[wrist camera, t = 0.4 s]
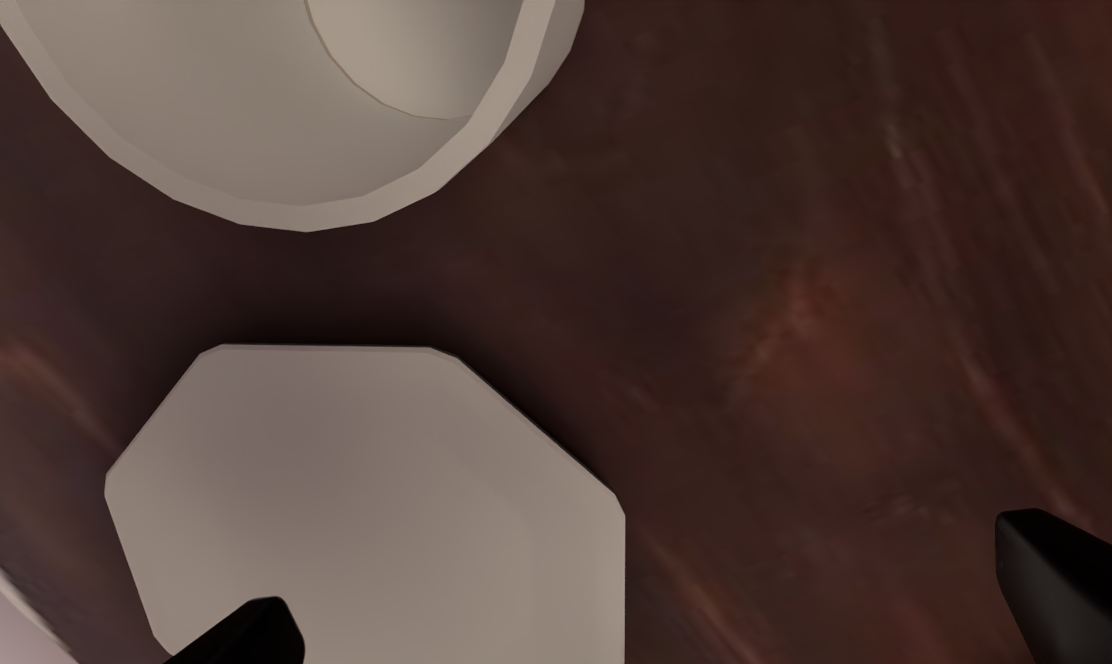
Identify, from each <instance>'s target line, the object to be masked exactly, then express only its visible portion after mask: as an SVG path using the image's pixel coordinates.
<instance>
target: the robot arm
mask: <svg viewBox="0 0 1112 664" xmlns="http://www.w3.org/2000/svg"><path fill="white" fill-rule="evenodd" d="M995 550H996V574H997V579H998V583H999V586H1000V589H1001V591H1002V593H1003V596H1004V598H1005V600H1006V602H1007V604H1008V606H1009V608H1010V610H1011V612H1012V614H1013V616H1014V619H1015V621H1016V623H1017V625H1018V627H1019V629H1020V631H1021V633H1022V635H1023V637H1024V640H1025V642H1026V644H1027V646H1028V648H1029V650H1030V652H1031V654H1032V656H1033V658H1034V661H1035V663H1036V664H1112V545H1111V544H1109V543H1107V542H1105V541H1103V540H1101V539H1099V538H1097V537H1095V536H1093V535H1092V534H1090V533H1088V532H1086V531H1084V530H1082V529H1080V528H1078V527H1076V526H1074V525H1072V524H1070V523H1068V522H1066V521H1064V520H1062V519H1060V518H1058V517H1056V516H1054V515H1052V514H1050V513H1048V512H1046V511H1044V510H1041V509H1037V508H1030V509H1021V510H1013V511H1004V512H1001V513H1000V514H999V515H998V516H997V518H996V522H995ZM305 651H306V650H305V641H304V638H303V635H302V633H301V631H300V629H299V627H298V625H297V623H296V621H295V619H294V617H293V615H292V613H291V611H290V609H289V607H288V605H287V603H286V602H285V600H283V599H282V598H281V597H278V596H269V597H260V598H254V599H251V600H249V601H247V602H246V603H244V604H243V605H242V606H240V607H239V608H237V609H236V610H235V611H233V612H232V613H231V614H229V615H228V616H227V617H225V618H224V619H223V620H221V621H220V622H219V623H217V624H216V625H215V626H213V627H212V628H210V629H209V630H208V631H206V632H205V633H204V634H202V635H201V636H200V637H198V638H197V639H196V640H194V641H193V642H192V643H190V644H189V645H188V646H186V647H185V648H183V649H182V650H181V651H179V652H178V653H177V654H175V655H174V656H173V657H171V658H170V659H169V660H167V661H166V662H165V663H163V664H303V663H304V659H305Z"/></svg>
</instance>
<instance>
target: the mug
mask: <svg viewBox="0 0 1112 664" xmlns="http://www.w3.org/2000/svg"><path fill="white" fill-rule="evenodd" d="M584 4H585V0H0V24H1V26H2V28H3V29H4V31H5V32H6V34H7V35H8V37H9V38H10V40H11V41H12V43H13V44H14V45H15V47H16V48H17V50H18V51H19V53H20V54H21V56H22V57H23V59H24V60H25V62H26V63H27V64H28V66H29V67H30V69H31V70H32V72H33V73H34V75H35V76H36V78H37V79H38V81H39V82H40V84H41V85H42V86H43V88H44V89H45V91H46V92H47V94H48V95H49V97H50V98H51V100H52V101H53V102H54V103H55V104H56V105H57V106H58V107H59V108H60V109H62V110H63V111H64V112H65V113H66V114H67V115H68V116H69V117H70V118H71V119H72V120H73V121H74V122H75V123H76V124H77V125H78V126H79V127H80V128H81V129H82V130H83V131H84V132H85V133H86V134H87V135H88V136H89V137H90V138H91V139H92V140H93V141H94V142H95V143H96V144H97V145H98V146H99V147H100V148H101V149H102V150H103V151H104V152H105V153H106V154H107V155H108V156H109V157H110V158H111V159H113V160H114V161H116V162H117V163H119V164H121V165H122V166H124V167H125V168H127V169H128V170H130V171H131V172H133V173H134V174H136V175H137V176H139V177H140V178H142V179H143V180H145V181H146V182H148V183H149V184H151V185H152V186H154V187H155V188H157V189H159V190H160V191H162V192H163V193H165V194H166V195H168V196H169V197H171V198H172V199H174V200H177V201H179V202H182V203H185V204H187V205H190V206H193V207H195V208H198V209H201V210H203V211H206V212H209V213H211V214H214V215H217V216H219V217H222V218H225V219H227V220H230V221H233V222H235V223H238V224H241V225H250V226H259V227H268V228H276V229H285V230H294V231H302V232H311V231H318V230H324V229H330V228H337V227H343V226H349V225H356V224H362V223H368V222H374V221H376V220H378V219H380V218H382V217H384V216H387V215H389V214H391V213H393V212H395V211H397V210H399V209H401V208H403V207H405V206H408V205H410V204H412V203H414V202H416V201H418V200H420V199H422V198H424V197H427V196H429V195H431V194H433V193H435V192H436V191H438V190H439V189H441V188H442V187H443V186H444V185H445V184H446V183H447V182H448V181H449V180H451V179H452V178H453V177H454V176H455V175H456V174H457V173H458V172H460V171H461V170H462V169H463V168H464V167H465V166H466V165H467V164H468V163H470V162H471V161H472V160H473V159H474V158H475V157H476V156H477V155H478V154H480V153H481V152H482V151H483V150H484V149H485V148H486V147H487V146H489V145H490V144H491V143H492V142H493V141H494V140H495V139H496V138H497V137H498V136H499V135H500V134H501V133H502V132H503V130H504V129H505V128H506V127H507V126H508V125H509V124H510V123H511V122H512V121H513V120H514V119H515V118H516V117H517V116H518V115H519V114H520V113H521V112H522V111H523V110H524V109H525V108H526V107H527V106H528V104H529V103H530V102H531V101H532V100H533V99H534V98H535V97H536V96H537V95H538V94H539V93H540V92H541V91H542V90H543V89H544V88H545V87H546V86H547V85H548V84H549V83H550V81H551V80H552V78H553V77H554V75H555V74H556V72H557V71H558V69H559V68H560V66H561V64H562V63H563V61H564V60H565V58H566V57H567V55H568V54H569V52H570V51H571V48H572V45H573V42H574V39H575V36H576V33H577V30H578V27H579V24H580V21H581V18H582V15H583V12H584Z"/></svg>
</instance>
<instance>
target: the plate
mask: <svg viewBox="0 0 1112 664" xmlns="http://www.w3.org/2000/svg"><path fill="white" fill-rule="evenodd" d="M104 495H105V499H106V502H107V505H108V507H109V510H110V513H111V516H112V519H113V522H114V524H115V527H116V530H117V533H118V536H119V539H120V541H121V544H122V547H123V550H124V553H125V556H126V558H127V561H128V564H129V567H130V570H131V573H132V575H133V578H134V581H135V584H136V587H137V589H138V592H139V595H140V598H141V601H142V604H143V606H144V609H145V612H146V615H147V618H148V621H149V623H150V626H151V629H152V632H153V635H154V637H155V638H156V639H157V640H158V641H159V643H160V644H161V645H162V646H163V647H164V649H165V650H166V651H167V652H168V653H170V654H171V655H173V656H174V655H175V654H177V653H178V652H179V651H181V650H182V649H183V648H185V647H186V646H188V645H189V644H190V643H192V642H193V641H194V640H196V639H197V638H198V637H200V636H201V635H202V634H204V633H205V632H206V631H208V630H209V629H210V628H212V627H213V626H215V625H216V624H217V623H219V622H220V621H221V620H223V619H224V618H225V617H227V616H228V615H229V614H231V613H232V612H233V611H235V610H236V609H237V608H239V607H240V606H242V605H243V604H244V603H246V602H247V601H249V600H251V599H254V598H260V597H269V596H278V597H281V598H282V599H283V600H285V602H286V603H287V605H288V607H289V609H290V611H291V613H292V615H293V617H294V619H295V621H296V623H297V625H298V627H299V629H300V631H301V633H302V635H303V638H304V641H305V650H306V651H305V659H304V663H303V664H624V651H625V511H624V509H623V507H622V505H621V503H620V501H619V499H618V497H617V495H616V493H615V491H614V490H613V489H612V488H611V487H609V486H608V485H607V484H606V483H605V482H604V481H602V480H601V479H600V478H599V477H598V476H597V475H595V474H594V473H593V472H592V471H591V470H590V469H589V468H587V467H586V466H585V465H584V464H583V463H582V462H580V461H579V460H578V459H577V458H576V457H575V456H574V455H572V454H571V453H570V452H569V451H568V450H567V449H565V448H564V447H563V446H562V445H561V444H560V443H558V442H557V441H556V440H555V439H554V438H553V437H552V436H550V435H549V434H548V433H547V432H546V431H545V430H543V429H542V428H541V427H540V426H539V425H538V424H536V423H535V422H534V421H533V420H532V419H531V418H530V417H528V416H527V415H526V414H525V413H524V412H523V411H521V410H520V409H519V408H518V407H517V406H516V405H515V404H513V403H512V402H511V401H510V400H509V399H508V398H506V397H505V396H504V395H503V394H502V393H501V392H499V391H498V390H497V389H496V388H495V387H494V386H493V385H491V384H490V383H489V382H488V381H487V380H486V379H484V378H483V377H482V376H481V375H480V374H479V373H478V372H476V371H475V370H474V369H473V368H472V367H471V366H469V365H468V364H467V363H466V362H465V361H464V360H462V359H461V358H460V357H459V356H457V355H455V354H452V353H450V352H447V351H444V350H442V349H439V348H437V347H434V346H432V345H374V344H305V343H237V342H225V343H222V344H220V345H218V346H215V347H213V348H211V349H208V350H206V351H204V352H202V353H200V354H199V355H198V357H197V358H196V359H195V361H194V362H193V363H192V364H191V366H190V367H189V368H188V370H187V371H186V372H185V373H184V375H183V376H182V377H181V379H180V380H179V381H178V382H177V384H176V385H175V386H174V388H173V389H172V390H171V391H170V393H169V394H168V395H167V397H166V398H165V399H164V400H163V402H162V403H161V404H160V406H159V407H158V408H157V409H156V411H155V412H154V413H153V415H152V416H151V417H150V418H149V420H148V421H147V422H146V424H145V425H144V426H143V427H142V429H141V430H140V431H139V433H138V434H137V435H136V436H135V438H134V439H133V440H132V442H131V443H130V444H129V445H128V447H127V448H126V449H125V451H124V452H123V453H122V454H121V456H120V457H119V458H118V460H117V461H116V462H115V463H114V465H113V466H112V467H111V469H110V470H109V471H108V472H107V474H106V481H105V490H104Z"/></svg>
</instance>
